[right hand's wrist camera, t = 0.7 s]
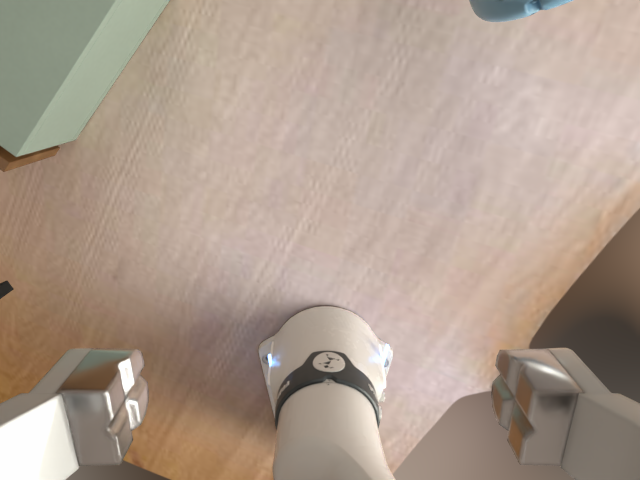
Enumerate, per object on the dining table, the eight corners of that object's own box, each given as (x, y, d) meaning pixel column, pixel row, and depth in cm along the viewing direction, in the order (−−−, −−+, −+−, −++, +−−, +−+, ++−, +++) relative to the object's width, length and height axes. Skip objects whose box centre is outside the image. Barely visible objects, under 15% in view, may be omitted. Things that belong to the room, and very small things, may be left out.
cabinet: (75, 140, 54) (16, 157, 44) (-7, 77, 52) (-92, 79, 41) (178, -13, 49) (138, -35, 38) (91, -91, 46) (23, -138, 35)
